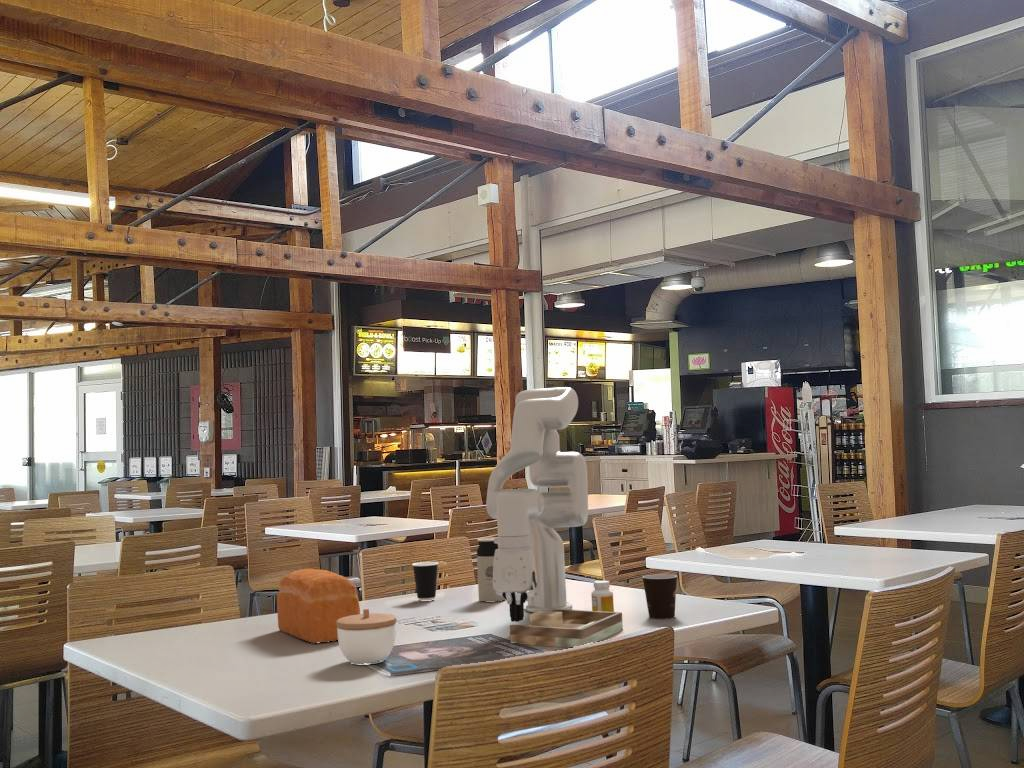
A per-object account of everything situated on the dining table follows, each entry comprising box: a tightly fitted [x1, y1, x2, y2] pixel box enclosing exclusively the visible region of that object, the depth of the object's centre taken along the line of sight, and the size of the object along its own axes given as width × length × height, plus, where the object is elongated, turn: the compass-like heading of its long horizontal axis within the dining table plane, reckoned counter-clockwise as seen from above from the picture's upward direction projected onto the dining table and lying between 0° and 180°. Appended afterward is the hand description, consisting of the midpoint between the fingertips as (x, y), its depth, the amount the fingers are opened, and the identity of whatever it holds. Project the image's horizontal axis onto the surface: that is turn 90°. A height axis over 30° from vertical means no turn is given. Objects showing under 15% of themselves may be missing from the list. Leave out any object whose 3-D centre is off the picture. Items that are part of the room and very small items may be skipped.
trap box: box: [509, 609, 624, 649], centre depth 215 cm, size 18×22×4 cm
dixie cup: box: [411, 561, 439, 601], centre depth 278 cm, size 8×8×11 cm
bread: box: [276, 568, 361, 644], centre depth 232 cm, size 14×26×16 cm, turn 32°
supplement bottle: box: [591, 580, 615, 612], centre depth 232 cm, size 5×5×10 cm
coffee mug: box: [642, 573, 678, 620], centre depth 236 cm, size 12×9×10 cm
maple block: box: [529, 611, 563, 627], centre depth 218 cm, size 6×5×3 cm
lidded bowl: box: [336, 608, 397, 664], centre depth 197 cm, size 13×13×11 cm
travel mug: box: [476, 536, 506, 602], centre depth 273 cm, size 8×8×18 cm
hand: (517, 620), depth 221 cm, fingers closed
